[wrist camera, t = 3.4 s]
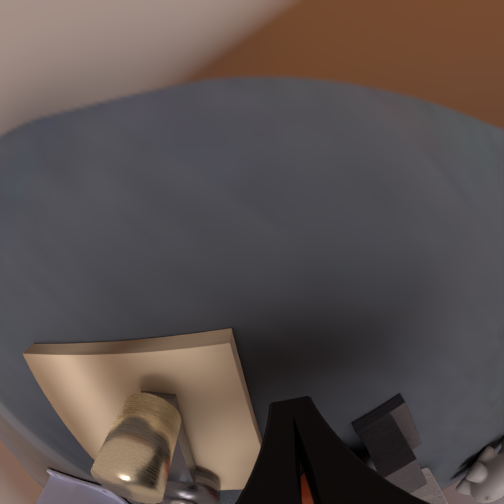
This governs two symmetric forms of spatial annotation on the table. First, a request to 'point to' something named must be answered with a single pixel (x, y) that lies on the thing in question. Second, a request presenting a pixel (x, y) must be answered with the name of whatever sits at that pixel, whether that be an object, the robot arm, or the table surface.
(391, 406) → the anvil
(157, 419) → the lever
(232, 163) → the table surface
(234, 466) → the board
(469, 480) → the round bodied animal figurine
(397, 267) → the table surface
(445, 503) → the light bulb box
